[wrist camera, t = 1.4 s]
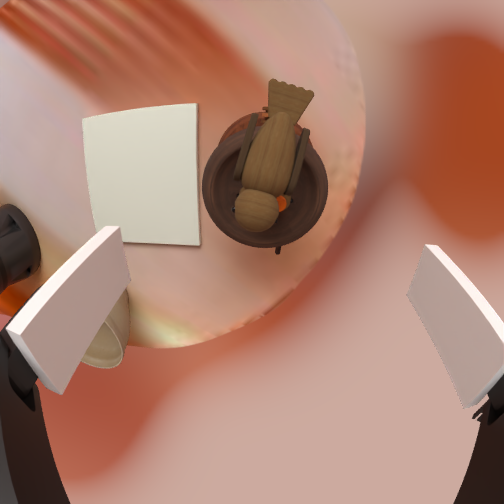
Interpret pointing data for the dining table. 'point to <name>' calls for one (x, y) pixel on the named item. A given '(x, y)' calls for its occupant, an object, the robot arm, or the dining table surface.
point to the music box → (267, 174)
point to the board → (145, 173)
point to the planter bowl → (110, 337)
